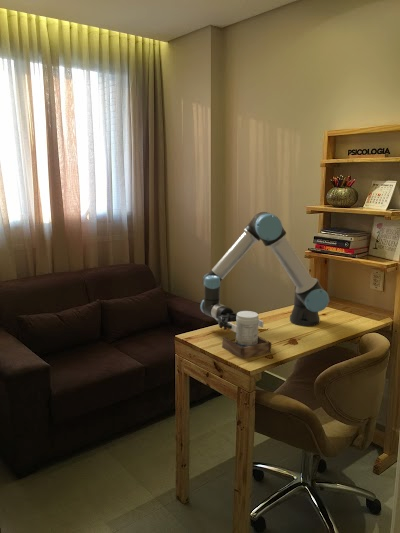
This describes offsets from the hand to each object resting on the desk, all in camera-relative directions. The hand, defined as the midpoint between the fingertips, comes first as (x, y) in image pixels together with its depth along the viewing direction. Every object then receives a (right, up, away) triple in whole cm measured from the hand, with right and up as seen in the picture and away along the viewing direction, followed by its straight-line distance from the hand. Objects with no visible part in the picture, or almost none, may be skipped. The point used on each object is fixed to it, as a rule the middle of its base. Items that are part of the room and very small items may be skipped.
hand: (250, 326), depth 193 cm
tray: (-1, -10, +4) cm, 11 cm away
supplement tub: (-1, -9, +4) cm, 10 cm away
